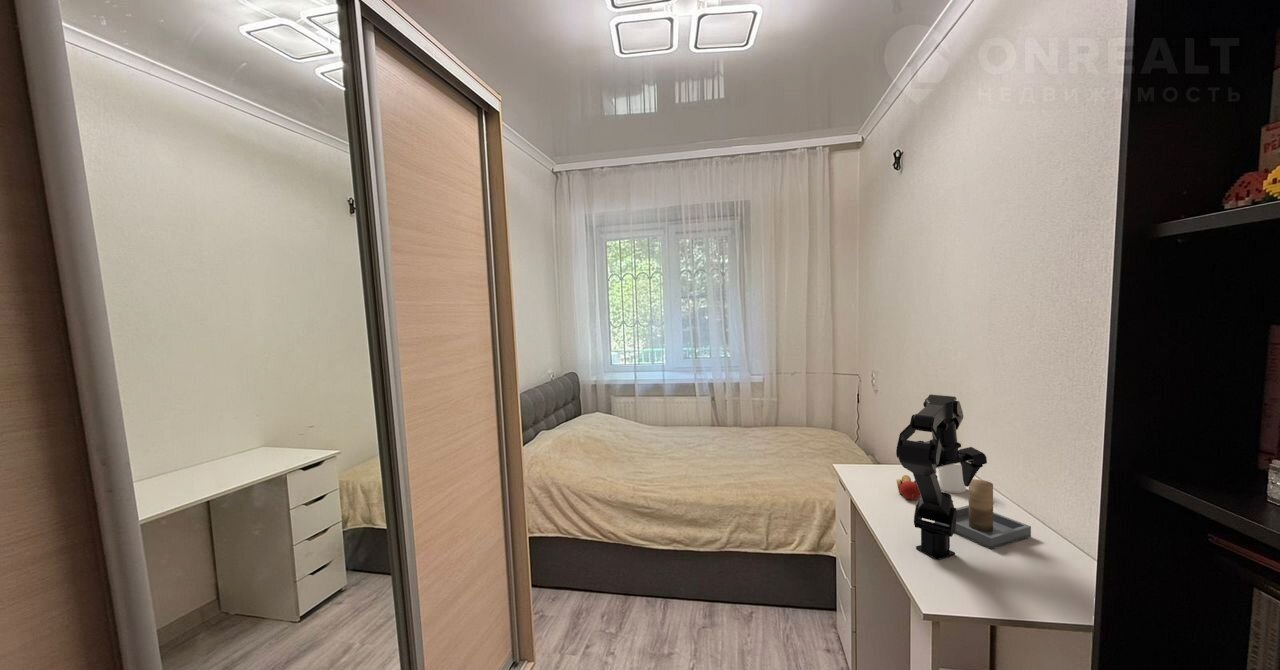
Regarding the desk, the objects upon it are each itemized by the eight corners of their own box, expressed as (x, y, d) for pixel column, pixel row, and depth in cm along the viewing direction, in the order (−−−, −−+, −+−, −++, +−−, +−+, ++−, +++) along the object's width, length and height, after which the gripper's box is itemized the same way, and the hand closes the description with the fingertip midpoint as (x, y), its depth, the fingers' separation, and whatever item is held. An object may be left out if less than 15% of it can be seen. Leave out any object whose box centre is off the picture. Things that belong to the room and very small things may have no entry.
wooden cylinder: (997, 532, 130) (997, 486, 130) (975, 531, 131) (975, 486, 130) (985, 523, 136) (985, 479, 135) (964, 522, 137) (964, 479, 136)
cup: (969, 494, 157) (969, 465, 157) (928, 491, 161) (928, 462, 161) (961, 485, 165) (961, 457, 165) (922, 482, 169) (922, 455, 169)
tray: (991, 549, 123) (991, 538, 123) (934, 523, 138) (934, 514, 138) (1030, 536, 129) (1030, 526, 128) (972, 513, 144) (972, 504, 143)
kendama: (891, 485, 172) (896, 497, 155) (894, 468, 172) (899, 478, 155) (915, 491, 168) (922, 504, 152) (919, 474, 168) (926, 485, 152)
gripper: (956, 421, 137) (961, 469, 140) (894, 435, 137) (901, 483, 139) (985, 435, 126) (991, 487, 129) (919, 450, 126) (925, 502, 128)
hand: (950, 489), depth 132 cm, fingers open, 9 cm apart
